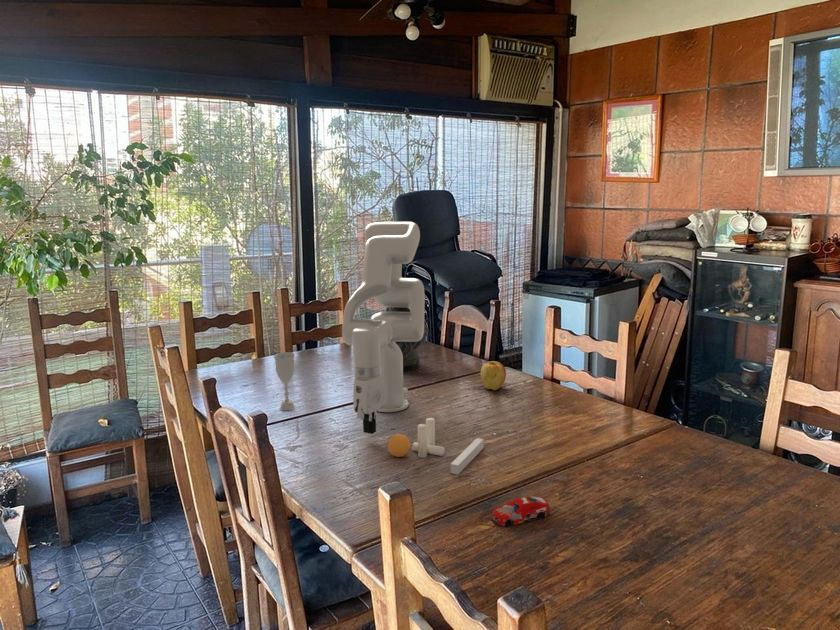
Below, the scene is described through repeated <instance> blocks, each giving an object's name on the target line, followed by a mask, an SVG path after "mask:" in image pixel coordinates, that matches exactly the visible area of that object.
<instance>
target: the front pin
mask: <svg viewBox="0 0 840 630" xmlns="http://www.w3.org/2000/svg"><path fill="white" fill-rule="evenodd" d="M411 449H412V451H413V452H416V453H418V441H414V442H413V443H412V447H411ZM445 451H446V450H445V447H444V446H439V445H436V444H435V445H429V444H427V455H428V454H429V455H435V456H440V457H443V456H444V455H445Z"/></svg>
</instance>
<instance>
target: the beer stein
mask: <svg viewBox="0 0 840 630" xmlns="http://www.w3.org/2000/svg"><path fill="white" fill-rule="evenodd" d="M388 312H410V309H409V308H397V307H392V309H390V310H389V311H388ZM428 332H429V331H428V324H427V322H426V320H425V319H424V334H423V338H422V339H421V340H420V341H417V342H395V343H396V344H397V345H398V346H399V348H400V349H401V352H402V355H403V371H405V372H409V371H408V370H411V371H413V369H414V370H416V369H418V367H419V364H420V356H419V353H418V348H419V346H421V345H422V344H423V342H424V341H425V340H426V338H427V335H428ZM415 368H416V369H415Z"/></svg>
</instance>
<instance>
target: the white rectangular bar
mask: <svg viewBox="0 0 840 630" xmlns="http://www.w3.org/2000/svg"><path fill="white" fill-rule="evenodd" d="M484 443H485V442H484V438H479V437H476V439H474V440H473V441H472V442H471V443H470V444H469V445H468V446H467V447H466V448H465V449H464V450H463V451H462V452H461V453H460V454H459V455H458V456H457V457H456V458H455V459H454V460H453V461H452V462H450V474H452V475H453V474H454V475H460V473H461V472H462V471H464V469H465V468H466V467H467V466H468V465H469V464H470V463H471V462H472V460H473V459H475V457H477V455H479V453H481V451H482V450H483V449H484V448H485V447H484V446H485V445H484Z"/></svg>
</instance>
